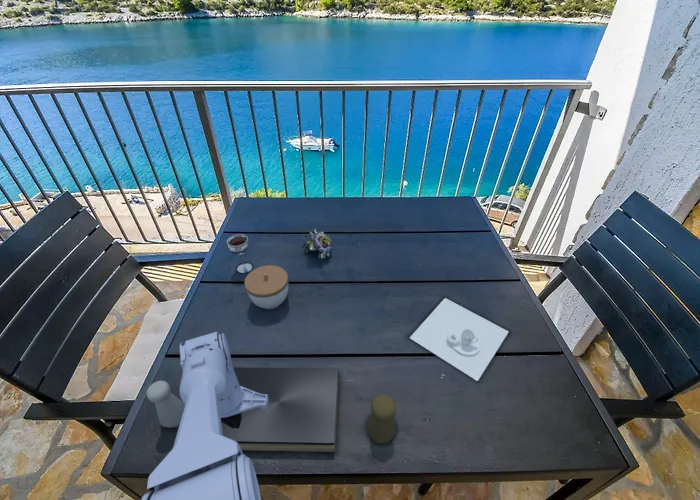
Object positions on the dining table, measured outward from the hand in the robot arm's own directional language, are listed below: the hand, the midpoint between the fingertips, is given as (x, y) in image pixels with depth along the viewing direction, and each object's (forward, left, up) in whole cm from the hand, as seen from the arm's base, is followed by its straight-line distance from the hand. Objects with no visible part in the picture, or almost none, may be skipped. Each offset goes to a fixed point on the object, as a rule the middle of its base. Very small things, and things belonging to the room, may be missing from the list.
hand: (237, 423), depth 68 cm
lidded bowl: (+35, +24, -11) cm, 44 cm away
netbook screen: (+10, -1, -8) cm, 13 cm away
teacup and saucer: (+52, -30, -11) cm, 61 cm away
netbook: (+10, -1, -10) cm, 14 cm away
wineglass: (+42, +42, -11) cm, 60 cm away
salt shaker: (-4, +18, -11) cm, 21 cm away
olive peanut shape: (+18, -23, -11) cm, 31 cm away
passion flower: (+61, +25, -11) cm, 67 cm away
